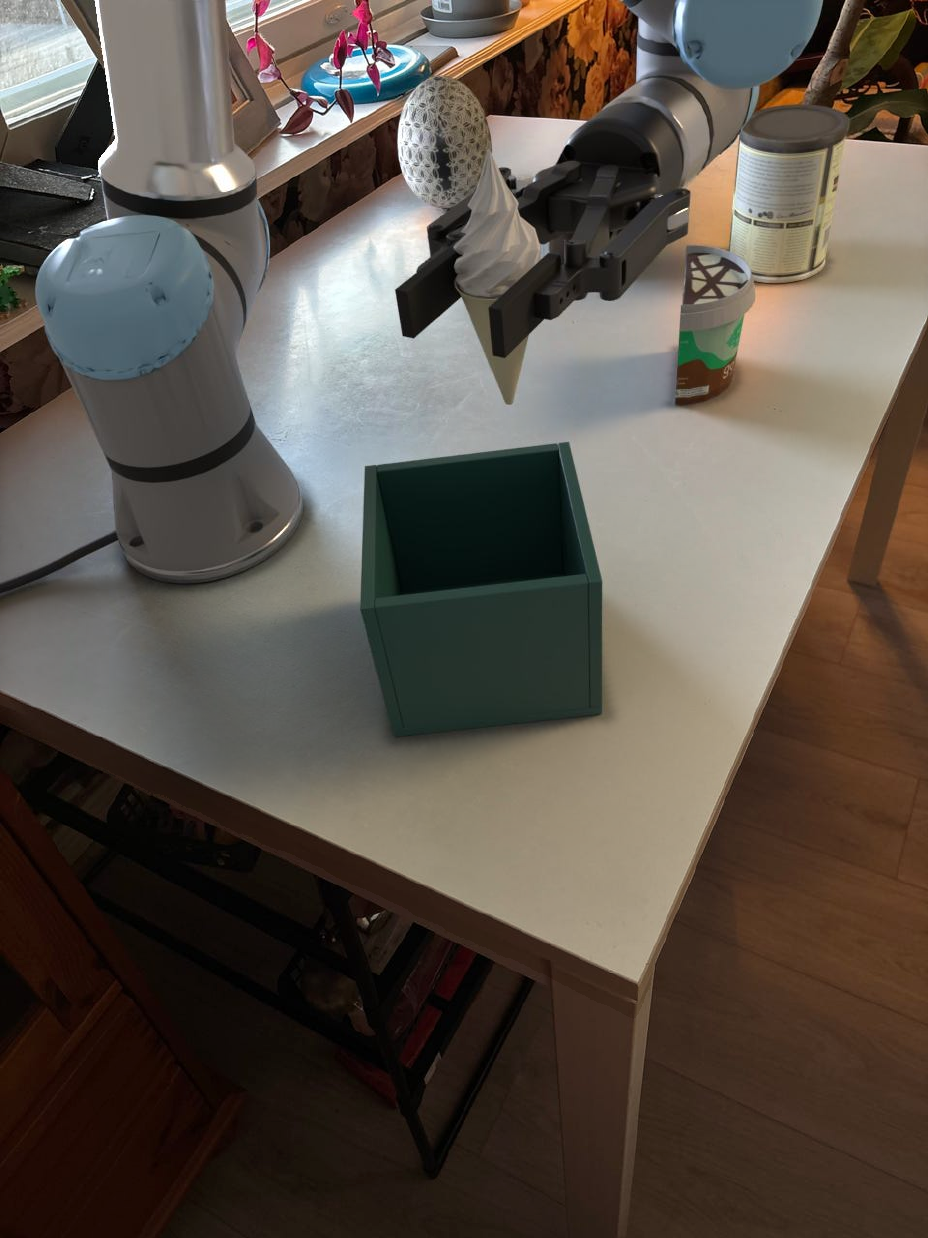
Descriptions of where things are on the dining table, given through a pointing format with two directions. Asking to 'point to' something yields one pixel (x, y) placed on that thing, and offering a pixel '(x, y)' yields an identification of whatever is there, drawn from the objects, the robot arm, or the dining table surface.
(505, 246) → the ice cream cone
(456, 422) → the dining table surface
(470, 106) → the decorative egg
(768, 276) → the coffee can
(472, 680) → the waste bin
